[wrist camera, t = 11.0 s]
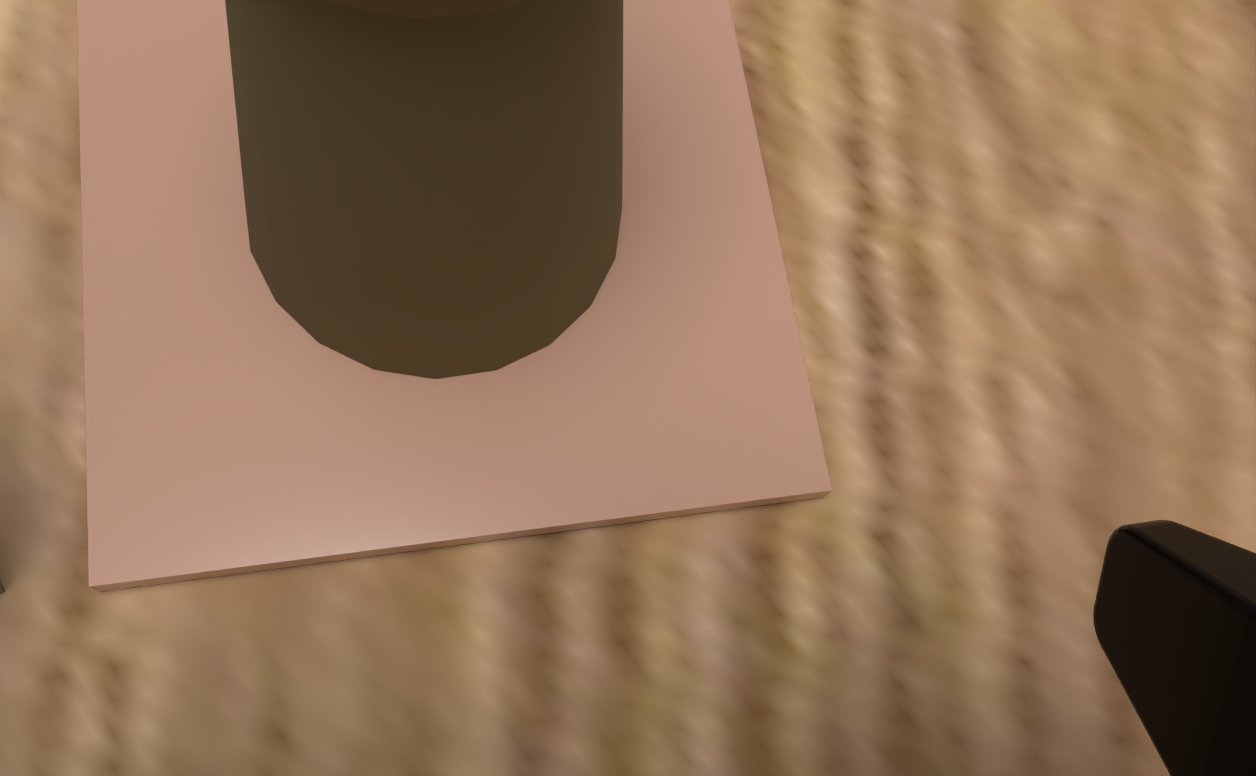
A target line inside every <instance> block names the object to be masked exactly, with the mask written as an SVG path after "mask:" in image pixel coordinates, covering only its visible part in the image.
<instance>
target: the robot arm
mask: <svg viewBox="0 0 1256 776" xmlns="http://www.w3.org/2000/svg"><path fill="white" fill-rule="evenodd" d="M1094 626H1095V631H1096V634H1097V637H1098V640H1099V642H1100V645H1101V647H1102V649H1103V650H1104V652H1105V654H1106V656H1107V658H1108V660H1109V662H1110V664H1111V665H1112V667H1113V669H1114V671H1115V673H1116V675H1117V677H1118V678H1119V680H1120V682H1121V684H1122V686H1123V688H1124V690H1125V691H1126V693H1127V695H1128V697H1129V699H1130V701H1131V703H1132V705H1133V706H1134V708H1135V710H1136V712H1137V714H1138V716H1139V718H1140V719H1141V721H1142V723H1143V725H1144V727H1145V729H1146V731H1147V732H1148V734H1149V736H1150V738H1151V740H1152V742H1153V744H1154V746H1155V747H1156V749H1157V751H1158V753H1159V755H1160V757H1161V759H1162V760H1163V762H1164V764H1165V766H1166V768H1167V770H1168V772H1169V773H1170V775H1171V776H1256V553H1254V552H1251V551H1248V550H1246V549H1243V548H1241V547H1238V546H1235V545H1233V544H1230V543H1228V542H1225V541H1222V540H1220V539H1217V538H1215V537H1212V536H1210V535H1207V534H1204V533H1202V532H1199V531H1197V530H1194V529H1191V528H1189V527H1186V526H1184V525H1181V524H1179V523H1176V522H1173V521H1168V520H1156V521H1149V522H1142V523H1135V524H1128V525H1123V526H1121V527H1119V528H1117V529H1116V530H1115V531H1114V532H1113V533H1112V535H1111V536H1110V538H1109V540H1108V544H1107V548H1106V553H1105V557H1104V562H1103V567H1102V572H1101V576H1100V581H1099V586H1098V591H1097V595H1096V600H1095V605H1094Z"/></svg>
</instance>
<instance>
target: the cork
mask: <svg viewBox="0 0 1256 776" xmlns="http://www.w3.org/2000/svg"><path fill="white" fill-rule="evenodd" d="M225 5H226V15H227V25H228V36H229V46H230V56H231V66H232V76H233V87H234V97H235V107H236V117H237V127H238V138H239V148H240V158H241V168H242V178H243V189H244V199H245V207H246V216H247V225H248V234H249V243H250V251H251V253H252V255H253V257H254V259H255V261H256V263H257V265H258V267H259V269H260V271H261V273H262V275H263V277H264V279H265V281H266V283H267V285H268V287H269V289H270V291H271V293H272V295H273V297H274V299H275V301H276V302H277V303H278V304H279V305H280V306H281V307H282V308H283V309H284V310H285V311H286V312H287V313H288V314H289V315H290V316H291V317H292V318H293V319H294V320H295V321H296V322H297V323H299V324H300V325H301V326H302V327H303V328H304V329H305V330H306V331H307V332H308V333H309V334H310V335H311V336H312V337H313V338H314V339H315V340H316V341H317V342H318V343H320V344H322V345H324V346H326V347H328V348H330V349H332V350H334V351H336V352H338V353H341V354H343V355H345V356H347V357H349V358H351V359H353V360H355V361H357V362H359V363H361V364H363V365H365V366H367V367H369V368H371V369H374V370H379V371H386V372H392V373H399V374H405V375H412V376H418V377H425V378H431V379H440V378H447V377H454V376H461V375H468V374H475V373H482V372H489V371H496V370H498V369H500V368H502V367H505V366H507V365H509V364H511V363H513V362H515V361H517V360H519V359H521V358H524V357H526V356H528V355H530V354H532V353H534V352H536V351H538V350H540V349H543V348H545V347H547V346H549V345H550V344H551V343H553V342H554V341H555V340H556V339H557V338H558V337H559V336H560V335H561V334H562V333H563V332H564V331H565V330H566V329H567V328H568V327H569V326H570V325H571V324H573V323H574V322H575V321H576V320H577V319H578V318H579V317H580V316H581V315H582V314H583V313H584V312H585V311H586V310H587V309H588V308H589V307H590V306H591V305H592V303H593V301H594V299H595V297H596V295H597V293H598V291H599V289H600V287H601V285H602V284H603V282H604V280H605V278H606V276H607V274H608V272H609V270H610V268H611V266H612V264H613V262H614V260H615V258H616V250H617V243H618V235H619V228H620V220H621V212H622V157H623V0H225Z"/></svg>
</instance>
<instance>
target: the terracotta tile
mask: <svg viewBox="0 0 1256 776" xmlns="http://www.w3.org/2000/svg"><path fill="white" fill-rule="evenodd" d="M77 13H78V63H79V113H80V163H81V213H82V263H83V313H84V363H85V413H86V463H87V513H88V563H89V587H91V588H93V589H95V590H97V591H99V592H102V591H109V590H117V589H125V588H132V587H140V586H148V585H155V584H163V583H171V582H178V581H186V580H193V579H201V578H209V577H216V576H224V575H232V574H239V573H247V572H255V571H262V570H270V569H278V568H285V567H293V566H301V565H308V564H316V563H324V562H331V561H339V560H347V559H354V558H362V557H369V556H377V555H385V554H392V553H400V552H408V551H415V550H423V549H431V548H438V547H446V546H454V545H461V544H469V543H477V542H484V541H492V540H500V539H507V538H515V537H523V536H530V535H538V534H546V533H553V532H561V531H568V530H576V529H584V528H591V527H599V526H607V525H614V524H622V523H630V522H637V521H645V520H653V519H660V518H668V517H676V516H683V515H691V514H699V513H706V512H714V511H722V510H729V509H737V508H744V507H752V506H760V505H767V504H775V503H783V502H790V501H798V500H806V499H813V498H821V497H824V496H825V495H827V494H828V493H829V492H831V491H832V487H831V483H830V478H829V473H828V468H827V464H826V459H825V454H824V450H823V445H822V440H821V435H820V431H819V426H818V421H817V416H816V412H815V407H814V402H813V398H812V393H811V388H810V383H809V379H808V374H807V369H806V364H805V360H804V355H803V350H802V345H801V341H800V336H799V331H798V327H797V322H796V317H795V312H794V308H793V303H792V298H791V293H790V289H789V284H788V279H787V275H786V270H785V265H784V260H783V256H782V251H781V246H780V241H779V237H778V232H777V227H776V223H775V218H774V213H773V208H772V204H771V199H770V194H769V189H768V185H767V180H766V175H765V170H764V166H763V161H762V156H761V152H760V147H759V142H758V137H757V133H756V128H755V123H754V118H753V114H752V109H751V104H750V100H749V95H748V90H747V85H746V81H745V76H744V71H743V66H742V62H741V57H740V52H739V48H738V43H737V38H736V33H735V29H734V24H733V19H732V14H731V10H730V5H729V0H623V157H622V212H621V220H620V228H619V235H618V243H617V250H616V258H615V260H614V262H613V264H612V266H611V268H610V270H609V272H608V274H607V276H606V278H605V280H604V282H603V284H602V285H601V287H600V289H599V291H598V293H597V295H596V297H595V299H594V301H593V303H592V305H591V306H590V307H589V308H588V309H587V310H586V311H585V312H584V313H583V314H582V315H581V316H580V317H579V318H578V319H577V320H576V321H575V322H574V323H573V324H571V325H570V326H569V327H568V328H567V329H566V330H565V331H564V332H563V333H562V334H561V335H560V336H559V337H558V338H557V339H556V340H555V341H554V342H553V343H551V344H550V345H549V346H547V347H545V348H543V349H540V350H538V351H536V352H534V353H532V354H530V355H528V356H526V357H524V358H521V359H519V360H517V361H515V362H513V363H511V364H509V365H507V366H505V367H502V368H500V369H498V370H496V371H489V372H482V373H475V374H468V375H461V376H454V377H447V378H440V379H431V378H425V377H418V376H412V375H405V374H399V373H392V372H386V371H379V370H374V369H371V368H369V367H367V366H365V365H363V364H361V363H359V362H357V361H355V360H353V359H351V358H349V357H347V356H345V355H343V354H341V353H338V352H336V351H334V350H332V349H330V348H328V347H326V346H324V345H322V344H320V343H318V342H317V341H316V340H315V339H314V338H313V337H312V336H311V335H310V334H309V333H308V332H307V331H306V330H305V329H304V328H303V327H302V326H301V325H300V324H299V323H297V322H296V321H295V320H294V319H293V318H292V317H291V316H290V315H289V314H288V313H287V312H286V311H285V310H284V309H283V308H282V307H281V306H280V305H279V304H278V303H277V302H276V301H275V299H274V297H273V295H272V293H271V291H270V289H269V287H268V285H267V283H266V281H265V279H264V277H263V275H262V273H261V271H260V269H259V267H258V265H257V263H256V261H255V259H254V257H253V255H252V253H251V251H250V243H249V234H248V225H247V216H246V207H245V199H244V189H243V178H242V168H241V158H240V148H239V138H238V127H237V117H236V107H235V97H234V87H233V76H232V66H231V56H230V46H229V36H228V25H227V15H226V5H225V0H77Z"/></svg>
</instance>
